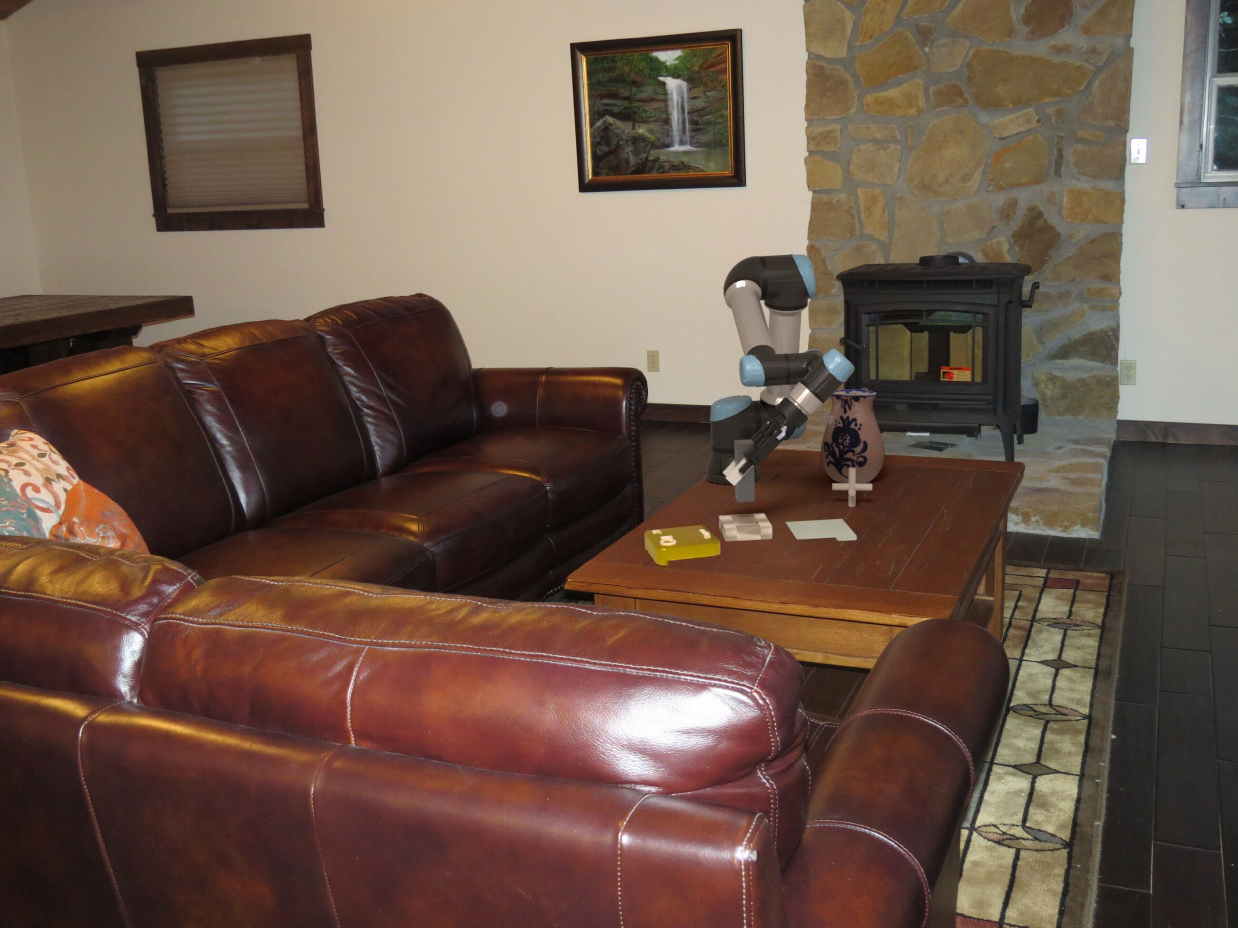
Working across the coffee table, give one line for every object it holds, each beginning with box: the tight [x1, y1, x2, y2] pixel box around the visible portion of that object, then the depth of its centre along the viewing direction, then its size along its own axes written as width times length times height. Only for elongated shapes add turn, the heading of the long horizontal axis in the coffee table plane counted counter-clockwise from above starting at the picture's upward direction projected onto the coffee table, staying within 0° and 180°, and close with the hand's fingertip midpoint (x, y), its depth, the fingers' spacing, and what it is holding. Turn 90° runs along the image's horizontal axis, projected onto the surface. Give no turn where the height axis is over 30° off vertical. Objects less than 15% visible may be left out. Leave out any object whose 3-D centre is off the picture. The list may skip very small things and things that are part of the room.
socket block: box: [718, 512, 773, 542], centre depth 268 cm, size 11×11×4 cm
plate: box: [785, 518, 858, 542], centre depth 269 cm, size 14×14×1 cm
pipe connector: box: [831, 468, 873, 508], centre depth 289 cm, size 10×10×10 cm
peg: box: [734, 439, 756, 503], centre depth 264 cm, size 4×4×14 cm
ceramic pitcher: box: [820, 387, 886, 484], centre depth 312 cm, size 18×21×25 cm
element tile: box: [644, 524, 721, 566], centre depth 259 cm, size 15×15×5 cm
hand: (728, 478), depth 264 cm, fingers closed on peg, 4 cm apart
